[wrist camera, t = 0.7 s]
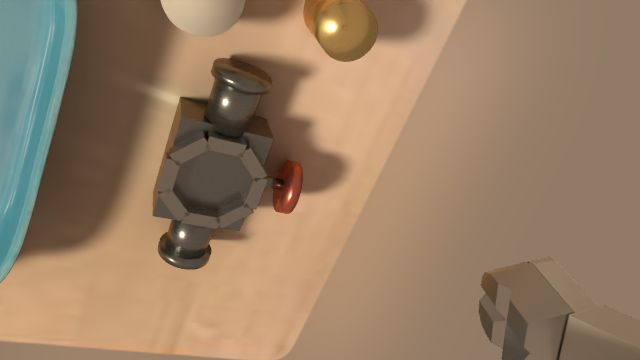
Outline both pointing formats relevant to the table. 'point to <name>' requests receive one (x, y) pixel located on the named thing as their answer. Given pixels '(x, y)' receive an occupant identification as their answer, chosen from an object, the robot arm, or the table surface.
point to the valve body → (218, 165)
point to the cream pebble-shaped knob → (203, 15)
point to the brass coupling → (341, 27)
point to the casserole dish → (29, 106)
